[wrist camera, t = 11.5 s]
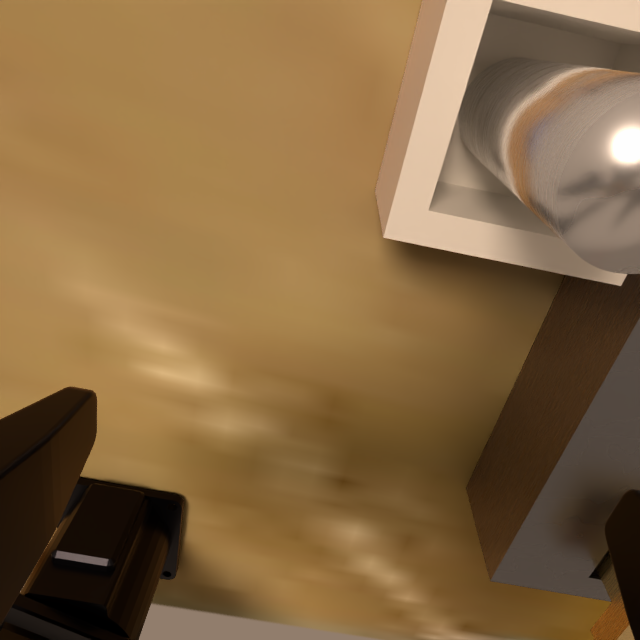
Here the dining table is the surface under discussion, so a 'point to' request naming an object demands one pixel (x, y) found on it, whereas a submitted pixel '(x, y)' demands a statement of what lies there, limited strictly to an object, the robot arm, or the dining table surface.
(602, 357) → the socket block
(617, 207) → the silver metal cylinder
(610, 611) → the plug block
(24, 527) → the robot arm
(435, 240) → the white open box
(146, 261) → the dining table surface
